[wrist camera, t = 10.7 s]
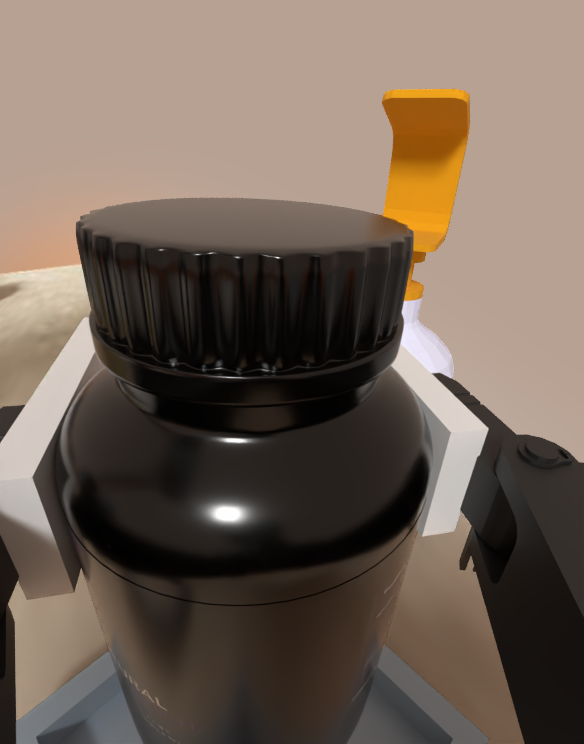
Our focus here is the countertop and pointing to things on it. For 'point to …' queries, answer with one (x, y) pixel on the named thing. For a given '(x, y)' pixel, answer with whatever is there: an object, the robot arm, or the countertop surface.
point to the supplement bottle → (244, 462)
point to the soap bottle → (425, 192)
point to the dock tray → (369, 740)
